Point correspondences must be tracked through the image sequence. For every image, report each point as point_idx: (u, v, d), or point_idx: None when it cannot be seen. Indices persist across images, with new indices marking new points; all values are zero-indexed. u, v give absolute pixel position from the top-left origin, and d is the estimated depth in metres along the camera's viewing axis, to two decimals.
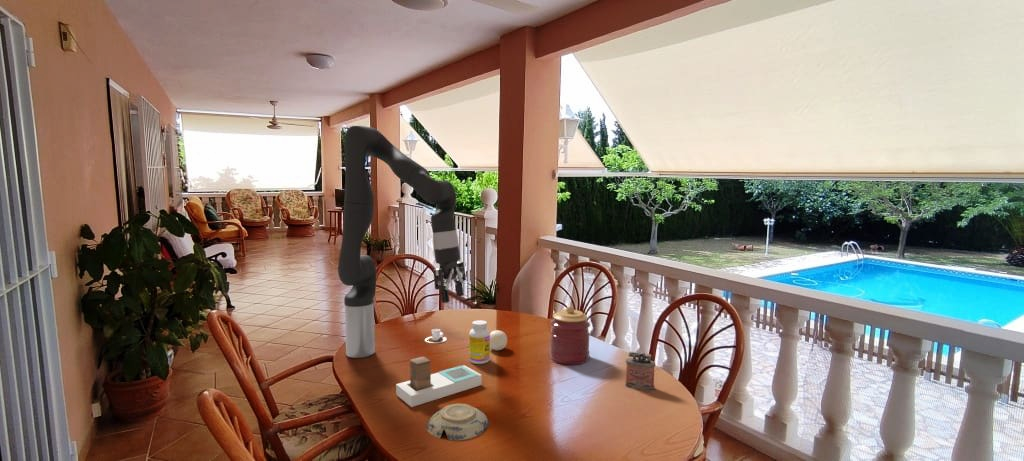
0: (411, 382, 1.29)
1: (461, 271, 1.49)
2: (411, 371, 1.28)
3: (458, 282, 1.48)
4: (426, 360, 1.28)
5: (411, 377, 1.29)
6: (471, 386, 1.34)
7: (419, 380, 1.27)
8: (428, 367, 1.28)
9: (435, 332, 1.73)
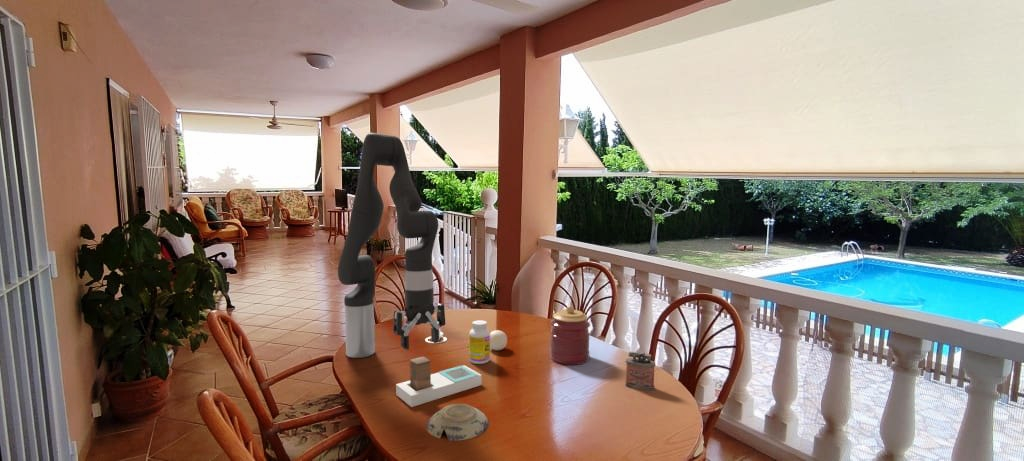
0: (411, 383, 1.29)
1: (440, 315, 1.30)
2: (411, 371, 1.28)
3: (433, 326, 1.30)
4: (426, 360, 1.28)
5: (411, 377, 1.29)
6: (471, 386, 1.34)
7: (419, 380, 1.27)
8: (428, 367, 1.28)
9: None
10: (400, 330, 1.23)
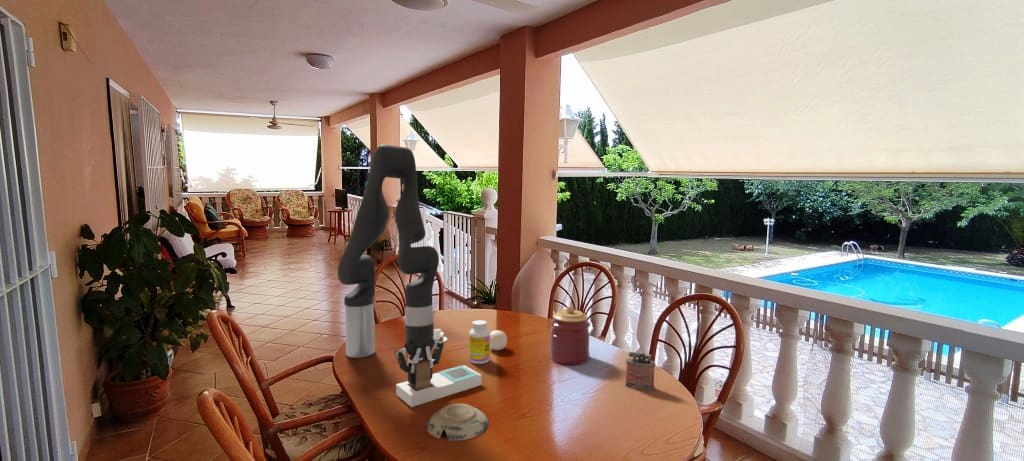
0: None
1: (436, 352, 1.31)
2: None
3: None
4: (426, 360, 1.28)
5: None
6: (471, 386, 1.34)
7: (419, 380, 1.27)
8: (428, 367, 1.28)
9: (436, 332, 1.73)
10: (407, 367, 1.25)
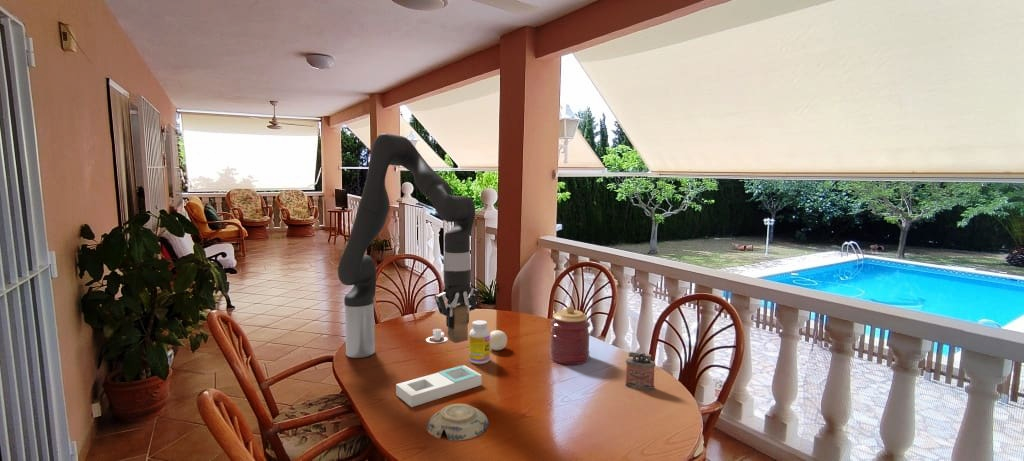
0: None
1: (473, 299, 1.37)
2: None
3: None
4: (463, 305, 1.34)
5: None
6: (471, 386, 1.34)
7: (457, 324, 1.33)
8: (465, 312, 1.34)
9: (436, 332, 1.73)
10: (446, 311, 1.31)
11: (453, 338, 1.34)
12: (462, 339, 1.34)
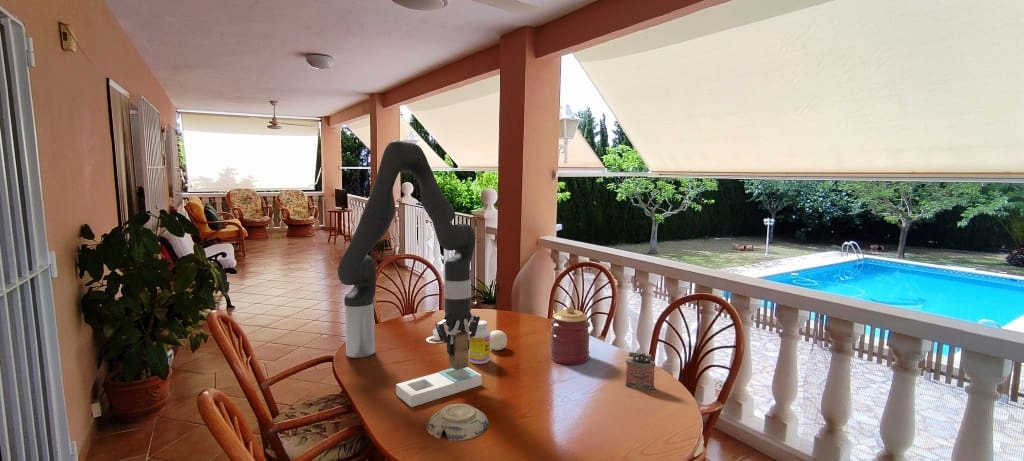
0: None
1: (473, 325, 1.38)
2: None
3: None
4: (464, 332, 1.35)
5: None
6: (471, 386, 1.34)
7: (458, 351, 1.33)
8: (466, 339, 1.35)
9: (436, 332, 1.73)
10: (447, 338, 1.32)
11: (453, 365, 1.34)
12: (463, 366, 1.35)
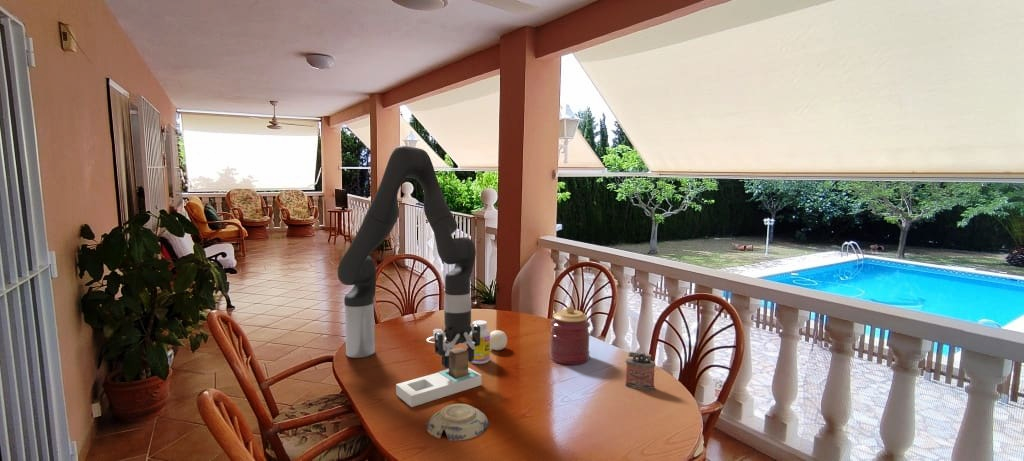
0: (449, 372, 1.36)
1: (475, 335, 1.38)
2: (450, 361, 1.36)
3: (469, 347, 1.38)
4: (464, 350, 1.36)
5: (450, 366, 1.36)
6: (471, 386, 1.34)
7: (458, 369, 1.34)
8: (466, 357, 1.35)
9: None
10: (442, 350, 1.31)
11: None
12: None
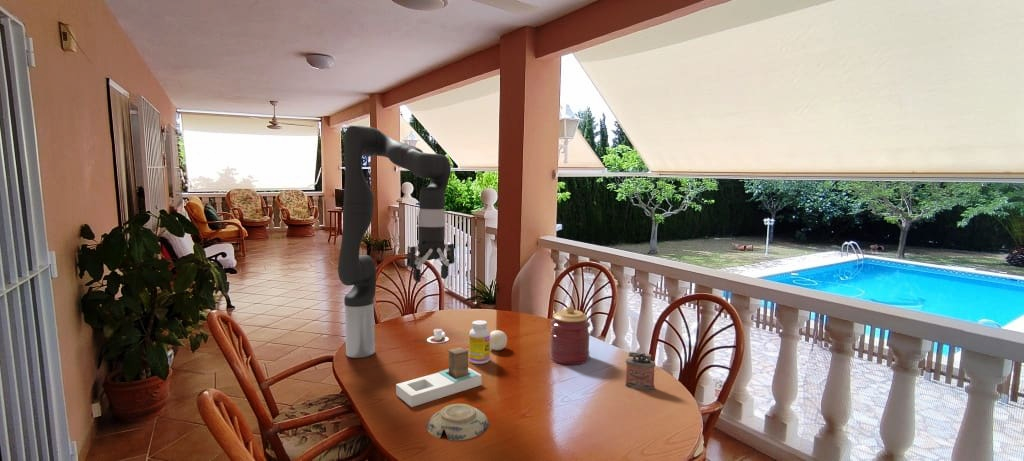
0: (449, 372, 1.36)
1: (449, 253, 1.40)
2: (450, 361, 1.36)
3: (443, 264, 1.40)
4: (464, 350, 1.36)
5: (450, 366, 1.36)
6: (471, 386, 1.34)
7: (458, 369, 1.34)
8: (466, 357, 1.35)
9: (437, 332, 1.73)
10: (413, 263, 1.33)
11: None
12: None
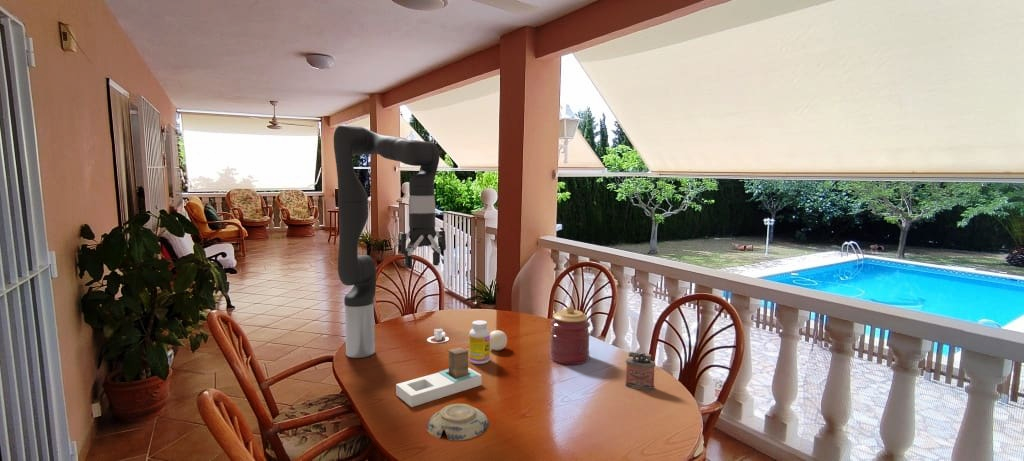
0: (449, 372, 1.36)
1: (441, 240, 1.41)
2: (450, 361, 1.36)
3: (435, 250, 1.41)
4: (464, 350, 1.36)
5: (450, 366, 1.36)
6: (471, 386, 1.34)
7: (458, 369, 1.34)
8: (466, 357, 1.35)
9: (437, 332, 1.73)
10: (404, 249, 1.34)
11: None
12: None
